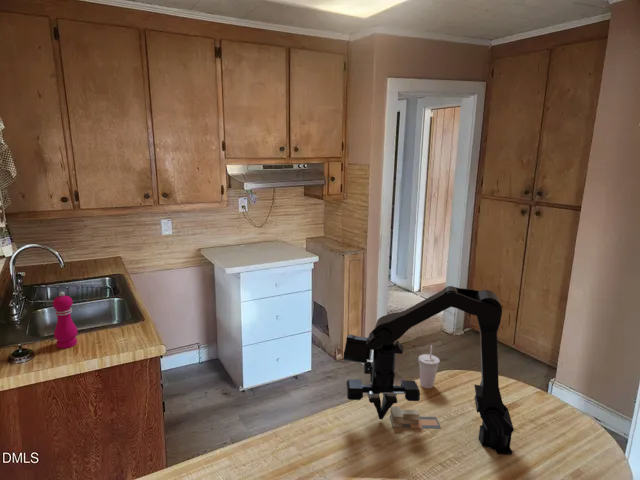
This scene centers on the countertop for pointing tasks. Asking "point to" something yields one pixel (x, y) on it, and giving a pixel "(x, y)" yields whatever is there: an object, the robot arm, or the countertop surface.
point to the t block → (403, 416)
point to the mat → (423, 423)
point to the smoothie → (428, 369)
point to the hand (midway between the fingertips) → (380, 418)
